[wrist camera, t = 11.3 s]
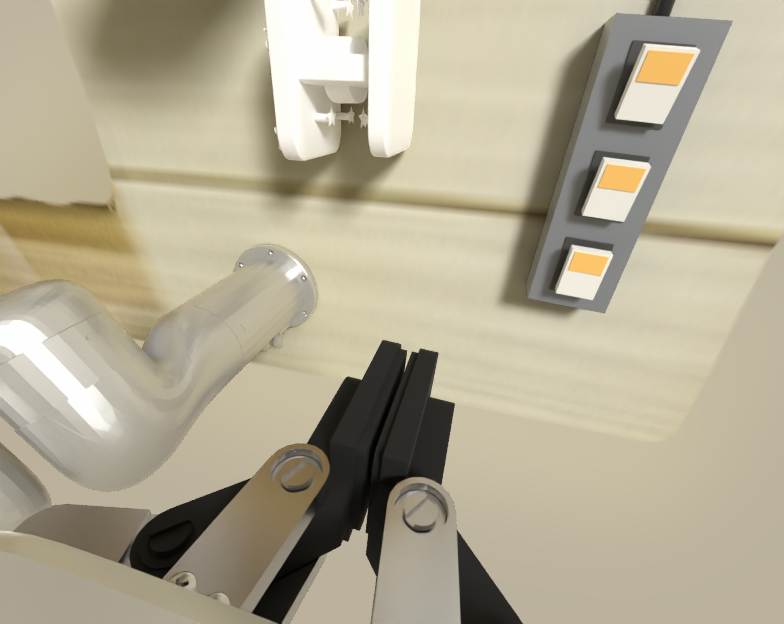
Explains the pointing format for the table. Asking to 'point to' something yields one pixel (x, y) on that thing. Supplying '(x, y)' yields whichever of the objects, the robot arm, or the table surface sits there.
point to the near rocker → (655, 82)
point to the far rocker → (583, 272)
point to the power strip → (618, 147)
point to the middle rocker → (615, 188)
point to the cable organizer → (342, 74)
